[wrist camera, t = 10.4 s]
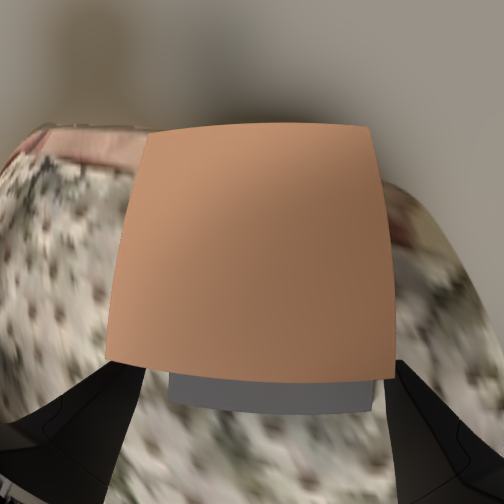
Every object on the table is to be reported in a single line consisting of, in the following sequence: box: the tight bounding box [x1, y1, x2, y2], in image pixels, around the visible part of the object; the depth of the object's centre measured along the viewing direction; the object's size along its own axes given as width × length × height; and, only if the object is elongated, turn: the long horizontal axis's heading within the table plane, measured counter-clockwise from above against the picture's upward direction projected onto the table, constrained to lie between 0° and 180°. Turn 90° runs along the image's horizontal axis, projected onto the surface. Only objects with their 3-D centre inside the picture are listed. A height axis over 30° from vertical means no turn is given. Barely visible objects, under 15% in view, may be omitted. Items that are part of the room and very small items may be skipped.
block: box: [105, 123, 396, 383], centre depth 11 cm, size 5×5×13 cm
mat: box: [168, 372, 374, 415], centre depth 17 cm, size 13×13×1 cm
